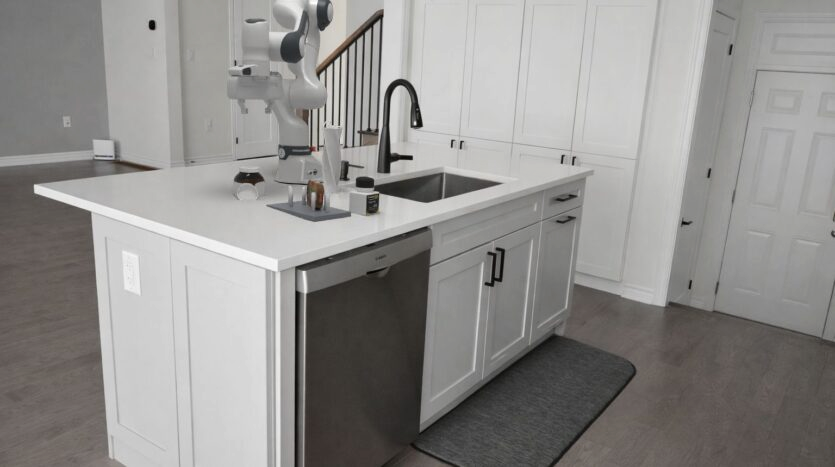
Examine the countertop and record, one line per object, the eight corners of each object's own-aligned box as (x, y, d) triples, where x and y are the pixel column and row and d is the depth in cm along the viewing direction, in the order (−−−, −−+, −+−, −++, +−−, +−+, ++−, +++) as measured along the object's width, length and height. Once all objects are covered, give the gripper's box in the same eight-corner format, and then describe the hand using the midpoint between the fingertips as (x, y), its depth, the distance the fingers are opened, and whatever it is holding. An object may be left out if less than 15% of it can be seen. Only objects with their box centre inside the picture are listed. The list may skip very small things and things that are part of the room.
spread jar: (256, 198, 223) (256, 165, 221) (273, 203, 215) (273, 169, 213) (225, 200, 215) (224, 166, 212) (242, 206, 207) (241, 170, 204)
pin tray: (302, 204, 215) (303, 183, 213) (351, 216, 199) (351, 193, 198) (266, 209, 203) (266, 186, 202) (314, 221, 188) (314, 197, 187)
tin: (305, 202, 210) (305, 178, 208) (314, 202, 211) (315, 178, 209) (315, 211, 196) (315, 184, 195) (325, 211, 198) (325, 184, 196)
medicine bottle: (366, 216, 201) (367, 179, 199) (348, 213, 205) (349, 176, 202) (379, 213, 207) (380, 177, 205) (361, 210, 211) (362, 174, 208)
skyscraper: (318, 195, 235) (319, 119, 230) (337, 195, 238) (339, 120, 232) (323, 199, 228) (325, 121, 222) (343, 198, 231) (345, 121, 225)
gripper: (275, 71, 214) (276, 112, 217) (223, 68, 199) (224, 113, 202) (287, 72, 210) (287, 114, 213) (235, 69, 195) (236, 114, 198)
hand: (256, 113), depth 208 cm, fingers open, 8 cm apart
